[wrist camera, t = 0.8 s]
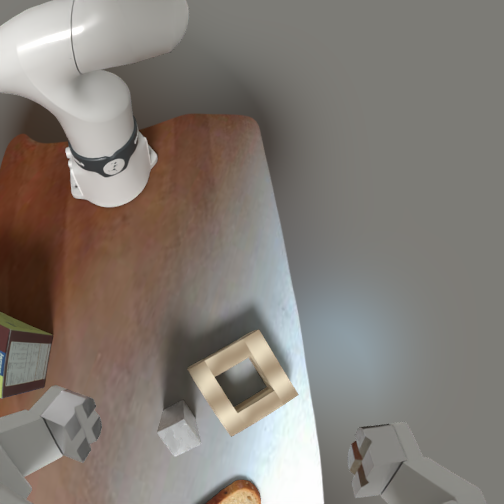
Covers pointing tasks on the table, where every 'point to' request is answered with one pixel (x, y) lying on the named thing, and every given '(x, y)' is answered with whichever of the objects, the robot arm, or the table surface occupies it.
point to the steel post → (179, 429)
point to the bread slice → (237, 494)
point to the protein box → (22, 356)
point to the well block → (259, 403)
